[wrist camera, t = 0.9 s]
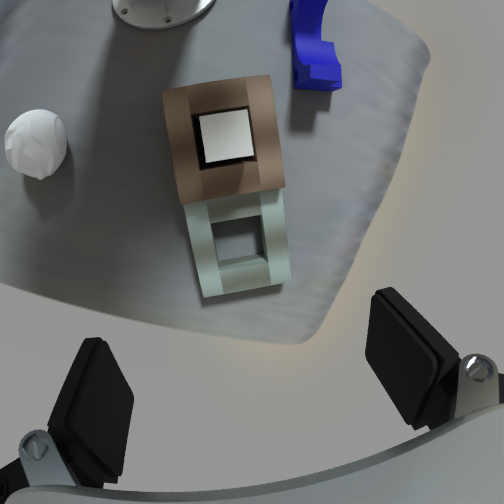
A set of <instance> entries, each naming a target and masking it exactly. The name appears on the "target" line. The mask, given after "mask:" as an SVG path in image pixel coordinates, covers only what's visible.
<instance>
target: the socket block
mask: <svg viewBox="0 0 504 504" xmlns="http://www.w3.org/2000/svg"><path fill="white" fill-rule="evenodd" d="M162 98H163V105H164V112H165V119H166V125H167V132H168V138H169V144H170V150H171V156H172V162H173V167H174V173H175V178H176V184H177V189H178V194H179V200H180V205H182V204H183V206H184V211H185V216H186V221H187V226H188V230H189V235H190V240H191V245H192V249H193V254H194V258H195V263H196V267H197V271H198V276H199V280H200V284H201V289H202V293H203V297H210V296H216V295H222V294H227V293H233V292H239V291H244V290H250V289H255V288H261V287H266V286H271V285H276V284H282V283H287V282H291V273H290V263H289V253H288V243H287V234H286V225H285V216H284V207H283V198H282V190H281V188H283V187H285V180H284V172H283V164H282V156H281V148H280V141H279V133H278V126H277V119H276V112H275V105H274V99H273V92H272V86H271V79H270V75H263V76H252V77H242V78H234V79H226V80H219V81H212V82H206V83H200V84H194V85H189V86H184V87H179V88H174V89H169V90H165V91H162ZM246 109H247V112H248V119H249V125H250V132H251V139H252V146H253V153H254V155H251V159H249V160H242V161H235V162H229V163H223V164H217V165H211V166H206V167H201V161H200V155H199V149H198V143H197V137H196V130H195V124H194V119H197V118H199V117H200V116H206V115H212V114H218V113H225V112H231V111H239V110H246ZM256 215H259V220H260V227H261V234H262V242H263V249H264V253H262V254H256V255H251V256H245V257H239V258H234V259H228V260H222V261H218V256H217V251H216V245H215V240H214V235H213V229H212V224H211V223H215V222H221V221H227V220H233V219H238V218H244V217H250V216H256Z"/></svg>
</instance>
